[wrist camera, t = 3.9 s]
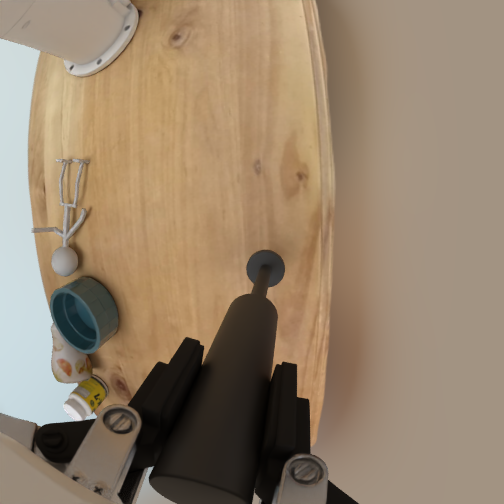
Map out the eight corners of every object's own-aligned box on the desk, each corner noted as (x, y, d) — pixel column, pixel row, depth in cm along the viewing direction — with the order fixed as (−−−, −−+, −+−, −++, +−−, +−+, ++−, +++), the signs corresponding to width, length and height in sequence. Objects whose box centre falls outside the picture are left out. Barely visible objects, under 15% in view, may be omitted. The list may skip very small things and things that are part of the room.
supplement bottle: (109, 399, 38) (85, 429, 30) (88, 386, 38) (63, 413, 30) (108, 382, 37) (82, 413, 29) (86, 369, 37) (58, 397, 29)
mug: (78, 309, 34) (62, 367, 26) (104, 344, 40) (96, 396, 33) (43, 311, 33) (26, 364, 26) (71, 344, 40) (61, 393, 32)
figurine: (68, 156, 23) (61, 290, 26) (101, 161, 29) (91, 278, 32) (37, 157, 23) (32, 277, 26) (69, 161, 29) (61, 267, 32)
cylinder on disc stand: (264, 241, 23) (176, 461, 4) (292, 267, 23) (285, 508, 4) (239, 268, 24) (124, 478, 5) (267, 292, 24) (212, 520, 5)
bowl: (84, 261, 31) (59, 272, 27) (131, 311, 32) (110, 329, 27) (65, 302, 34) (44, 316, 29) (106, 347, 34) (88, 364, 30)
